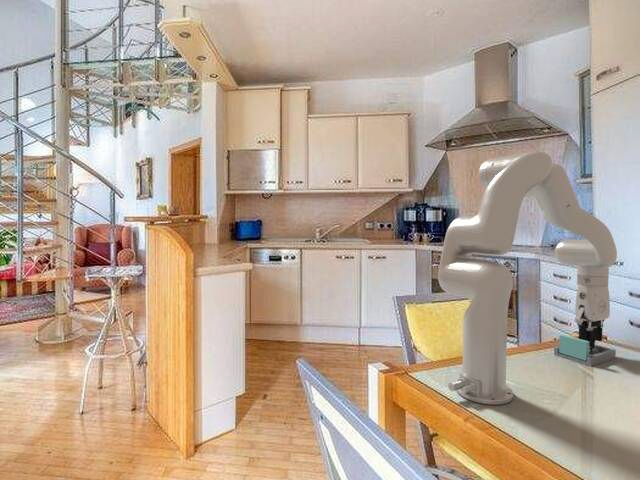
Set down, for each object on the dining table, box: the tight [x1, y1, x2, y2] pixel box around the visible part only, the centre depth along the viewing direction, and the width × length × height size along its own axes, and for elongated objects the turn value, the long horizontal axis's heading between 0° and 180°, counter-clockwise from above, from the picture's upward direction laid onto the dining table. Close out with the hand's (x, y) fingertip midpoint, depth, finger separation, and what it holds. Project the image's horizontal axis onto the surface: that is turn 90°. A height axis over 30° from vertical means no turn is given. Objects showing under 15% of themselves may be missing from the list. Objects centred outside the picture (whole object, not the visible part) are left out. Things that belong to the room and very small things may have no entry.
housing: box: [553, 343, 617, 367], centre depth 113 cm, size 13×10×2 cm
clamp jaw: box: [558, 334, 589, 361], centre depth 110 cm, size 2×7×5 cm, turn 27°
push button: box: [583, 317, 601, 352], centre depth 113 cm, size 7×5×10 cm
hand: (590, 340), depth 114 cm, fingers closed on push button, 4 cm apart
